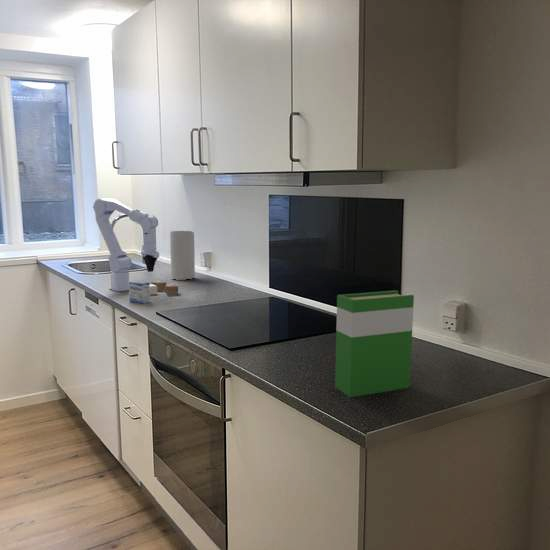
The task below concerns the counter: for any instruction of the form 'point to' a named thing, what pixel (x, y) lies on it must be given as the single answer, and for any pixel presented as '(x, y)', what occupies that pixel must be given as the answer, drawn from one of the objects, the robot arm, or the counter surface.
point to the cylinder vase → (182, 255)
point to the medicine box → (139, 292)
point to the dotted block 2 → (171, 289)
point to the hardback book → (373, 342)
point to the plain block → (153, 289)
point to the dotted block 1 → (159, 285)
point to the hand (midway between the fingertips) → (150, 271)
